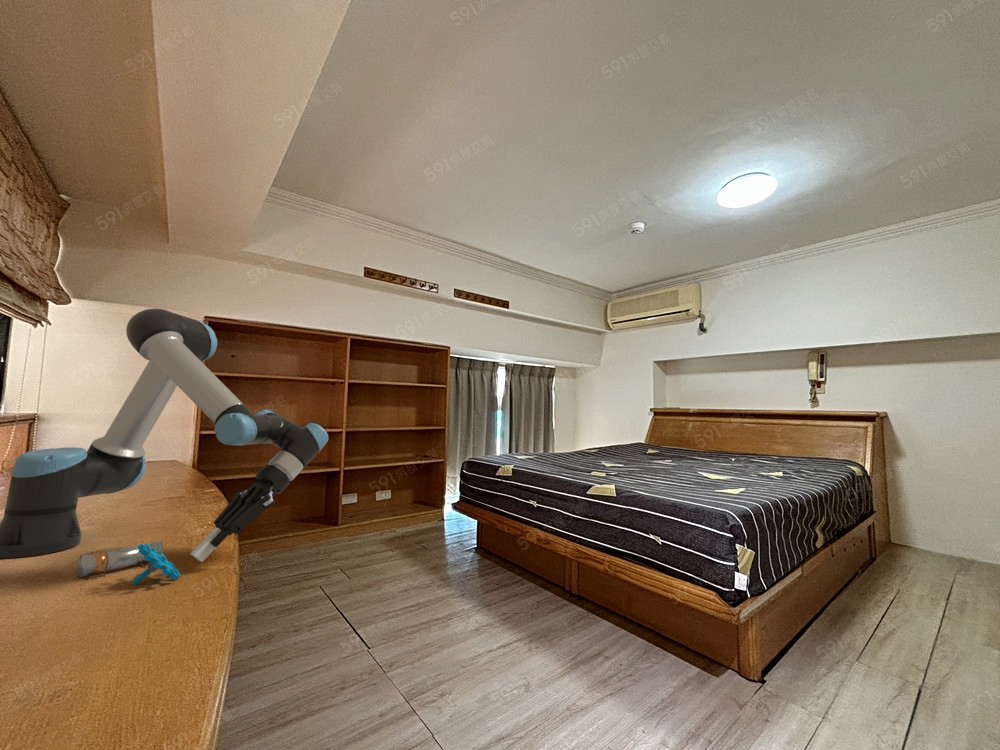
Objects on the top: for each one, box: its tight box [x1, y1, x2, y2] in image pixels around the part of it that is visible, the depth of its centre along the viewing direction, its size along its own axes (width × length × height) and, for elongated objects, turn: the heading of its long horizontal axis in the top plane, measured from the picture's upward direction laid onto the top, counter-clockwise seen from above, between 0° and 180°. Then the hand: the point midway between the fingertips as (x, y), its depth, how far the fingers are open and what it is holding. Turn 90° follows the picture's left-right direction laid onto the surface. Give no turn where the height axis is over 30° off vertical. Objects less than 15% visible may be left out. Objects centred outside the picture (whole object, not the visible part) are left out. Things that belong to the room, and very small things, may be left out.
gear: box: [131, 543, 182, 586], centre depth 80 cm, size 11×6×10 cm
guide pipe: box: [76, 540, 165, 580], centre depth 86 cm, size 5×13×5 cm, turn 151°
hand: (196, 557), depth 86 cm, fingers closed
